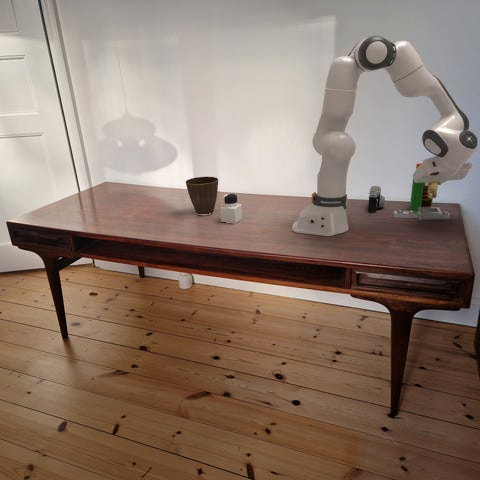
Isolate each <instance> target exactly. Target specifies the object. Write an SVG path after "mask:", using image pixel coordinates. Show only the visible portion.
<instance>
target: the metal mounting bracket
mask: <svg viewBox="0 0 480 480" xmlns="http://www.w3.org/2000/svg"><path fill="white" fill-rule="evenodd" d="M393 218H394V219H395V218H397V219H398V218H399V219H400V218H401V219H402V218H403V219H405V218H406V219H419V221H433V222H434V221H435V222H436V221H437V222H438V221H439V222H441V221H442V220H450V218H451V214H450V213H449V211H448V210H441V209H440V207H438V206H437V207H436V206H435V207H433V206H432V207H419V208H418V212H416V211H414V210H411V209H409V210H408V211H407V210H403V209H397V210H393Z"/></svg>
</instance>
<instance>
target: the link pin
mask: <svg viewBox="0 0 480 480" xmlns="http://www.w3.org/2000/svg"><path fill="white" fill-rule="evenodd" d="M430 183H431V184H430V185H429V186H428V194H427V197H428V198H433V199H436V198H437V196H438V187H439V185H438V181H436V182H430Z"/></svg>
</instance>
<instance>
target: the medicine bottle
mask: <svg viewBox="0 0 480 480" xmlns="http://www.w3.org/2000/svg"><path fill="white" fill-rule="evenodd" d="M222 200H223V205H222V206H220V207H219V209H220V210H219V213H220V222H221V221H224V222H231V223H236V222H238V221H239V220H240V219H242V220H243V211H242V210H243V208H242V203H238V195H237V194H235V193H226V194H224V195H223V196H222ZM240 221H241V220H240ZM240 221H239V222H240ZM239 222H238V223H239ZM236 224H237V223H236Z"/></svg>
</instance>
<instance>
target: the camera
mask: <svg viewBox="0 0 480 480" xmlns="http://www.w3.org/2000/svg"><path fill="white" fill-rule="evenodd" d="M381 189H382V188H381V186H380V185H372V186H370V189H369V193H368V207H367V213H369V214H376V213H377V209H380V208H382V207H384V206H385V202H386V200H385V199H386V197H385V196H384V195H383V194H381V191H382V190H381Z"/></svg>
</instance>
